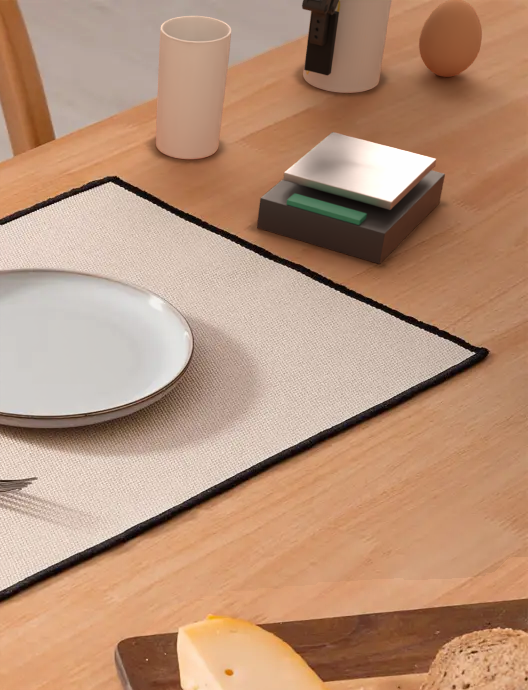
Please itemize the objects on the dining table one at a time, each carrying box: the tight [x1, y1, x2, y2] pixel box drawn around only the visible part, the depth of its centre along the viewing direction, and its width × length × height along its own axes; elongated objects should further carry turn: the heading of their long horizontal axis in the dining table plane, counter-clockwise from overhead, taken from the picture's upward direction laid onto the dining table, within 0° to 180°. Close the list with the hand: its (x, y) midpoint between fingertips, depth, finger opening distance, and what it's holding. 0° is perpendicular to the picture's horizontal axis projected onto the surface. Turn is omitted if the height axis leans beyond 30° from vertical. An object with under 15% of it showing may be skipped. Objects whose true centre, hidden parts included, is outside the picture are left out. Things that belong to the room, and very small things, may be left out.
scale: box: [256, 169, 446, 265], centre depth 142 cm, size 12×14×4 cm
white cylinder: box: [302, 0, 392, 94], centre depth 165 cm, size 8×8×12 cm
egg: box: [418, 0, 483, 78], centre depth 166 cm, size 6×6×8 cm
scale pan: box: [282, 131, 437, 210], centre depth 141 cm, size 10×10×1 cm
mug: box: [155, 15, 232, 160], centre depth 152 cm, size 10×7×12 cm, turn 163°
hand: (344, 51), depth 167 cm, fingers open, 13 cm apart
